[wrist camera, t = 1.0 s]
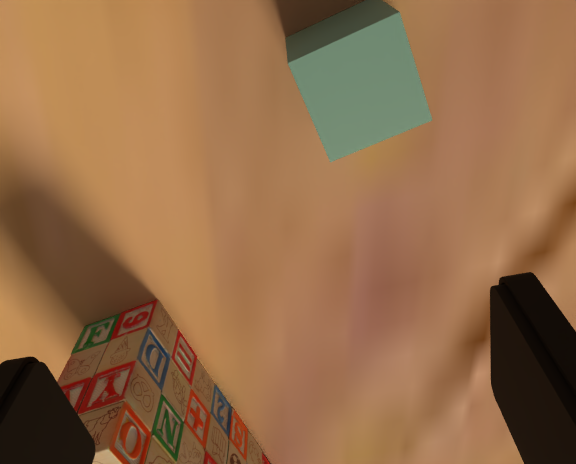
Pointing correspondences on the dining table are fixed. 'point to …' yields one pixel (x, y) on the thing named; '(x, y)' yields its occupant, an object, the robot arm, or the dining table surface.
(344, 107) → the teal block
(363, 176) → the dining table surface
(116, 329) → the stack of blocks
